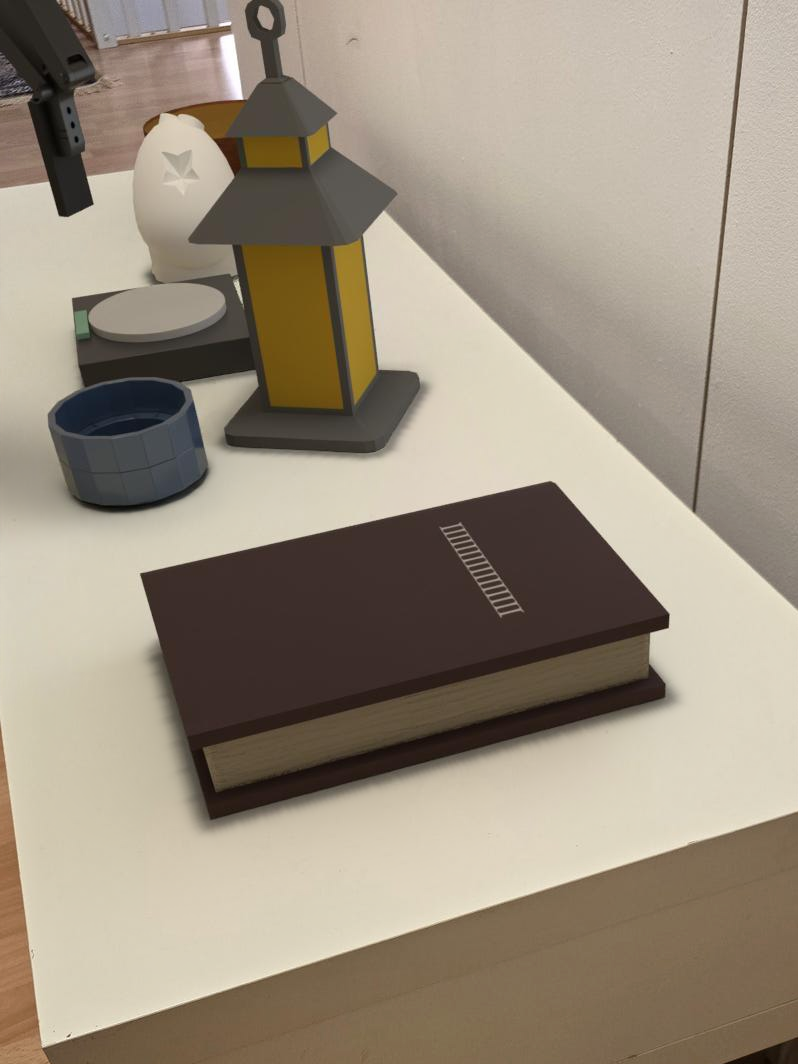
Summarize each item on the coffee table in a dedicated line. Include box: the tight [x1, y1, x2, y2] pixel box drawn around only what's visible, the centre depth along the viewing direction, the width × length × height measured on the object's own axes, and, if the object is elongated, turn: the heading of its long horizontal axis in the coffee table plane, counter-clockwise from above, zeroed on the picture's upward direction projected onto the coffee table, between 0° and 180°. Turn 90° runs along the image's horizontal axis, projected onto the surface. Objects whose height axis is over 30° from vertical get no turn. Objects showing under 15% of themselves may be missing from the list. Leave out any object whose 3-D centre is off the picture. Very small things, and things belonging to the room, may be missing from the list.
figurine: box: [132, 112, 238, 284], centre depth 128 cm, size 11×11×15 cm
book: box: [139, 480, 671, 820], centre depth 76 cm, size 28×20×6 cm
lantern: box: [188, 0, 421, 453], centre depth 96 cm, size 14×14×30 cm
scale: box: [71, 274, 255, 388], centre depth 118 cm, size 16×18×4 cm
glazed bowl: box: [46, 377, 209, 507], centre depth 97 cm, size 11×11×6 cm
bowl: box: [142, 99, 248, 177], centre depth 146 cm, size 18×18×10 cm
